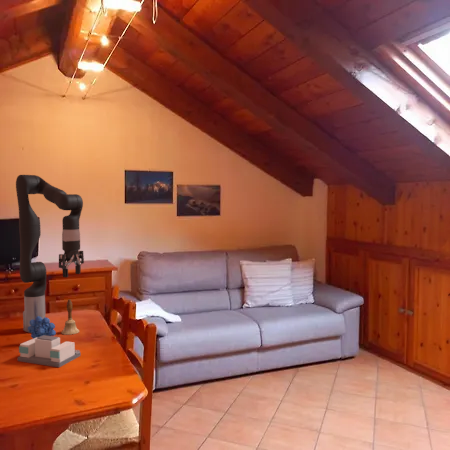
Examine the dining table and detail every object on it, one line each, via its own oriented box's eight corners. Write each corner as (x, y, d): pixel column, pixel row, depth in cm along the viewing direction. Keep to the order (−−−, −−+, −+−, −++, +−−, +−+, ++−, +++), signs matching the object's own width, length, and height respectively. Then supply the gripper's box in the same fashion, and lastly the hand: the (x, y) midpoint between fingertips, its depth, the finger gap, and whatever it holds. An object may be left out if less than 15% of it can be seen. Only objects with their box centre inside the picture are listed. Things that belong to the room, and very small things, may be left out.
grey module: (35, 356, 176) (34, 338, 176) (44, 352, 181) (43, 334, 180) (51, 358, 174) (51, 340, 173) (60, 354, 178) (59, 336, 178)
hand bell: (75, 335, 208) (75, 301, 207) (58, 334, 208) (57, 301, 207) (81, 329, 216) (81, 297, 215) (65, 329, 216) (64, 297, 215)
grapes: (26, 346, 192) (25, 319, 191) (28, 341, 198) (28, 315, 197) (55, 344, 195) (54, 317, 194) (56, 339, 201) (55, 313, 201)
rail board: (17, 360, 175) (17, 344, 175) (40, 350, 188) (40, 335, 187) (59, 367, 169) (58, 350, 168) (80, 355, 181) (80, 340, 181)
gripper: (74, 237, 203) (75, 272, 204) (53, 240, 190) (54, 277, 191) (88, 238, 201) (88, 273, 202) (67, 241, 187) (68, 279, 188)
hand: (71, 275), depth 196 cm, fingers open, 8 cm apart
